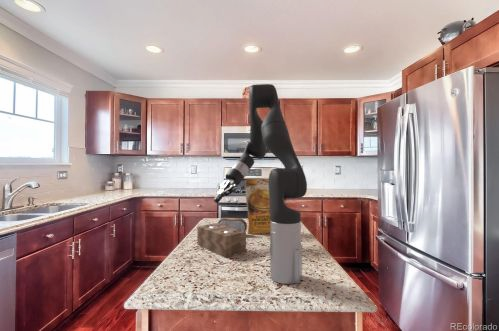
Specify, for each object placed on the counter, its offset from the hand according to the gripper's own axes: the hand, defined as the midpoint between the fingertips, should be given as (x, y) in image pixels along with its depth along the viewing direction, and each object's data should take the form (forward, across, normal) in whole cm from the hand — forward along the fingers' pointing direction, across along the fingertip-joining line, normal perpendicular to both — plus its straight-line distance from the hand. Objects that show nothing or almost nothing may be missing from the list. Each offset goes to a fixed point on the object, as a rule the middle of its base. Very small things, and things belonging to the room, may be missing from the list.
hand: (215, 201), depth 110 cm
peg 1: (+14, 0, +12) cm, 19 cm away
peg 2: (+14, +11, +12) cm, 22 cm away
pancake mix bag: (-8, -2, +35) cm, 36 cm away
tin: (+3, -8, +24) cm, 26 cm away
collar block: (+14, +6, +12) cm, 20 cm away
